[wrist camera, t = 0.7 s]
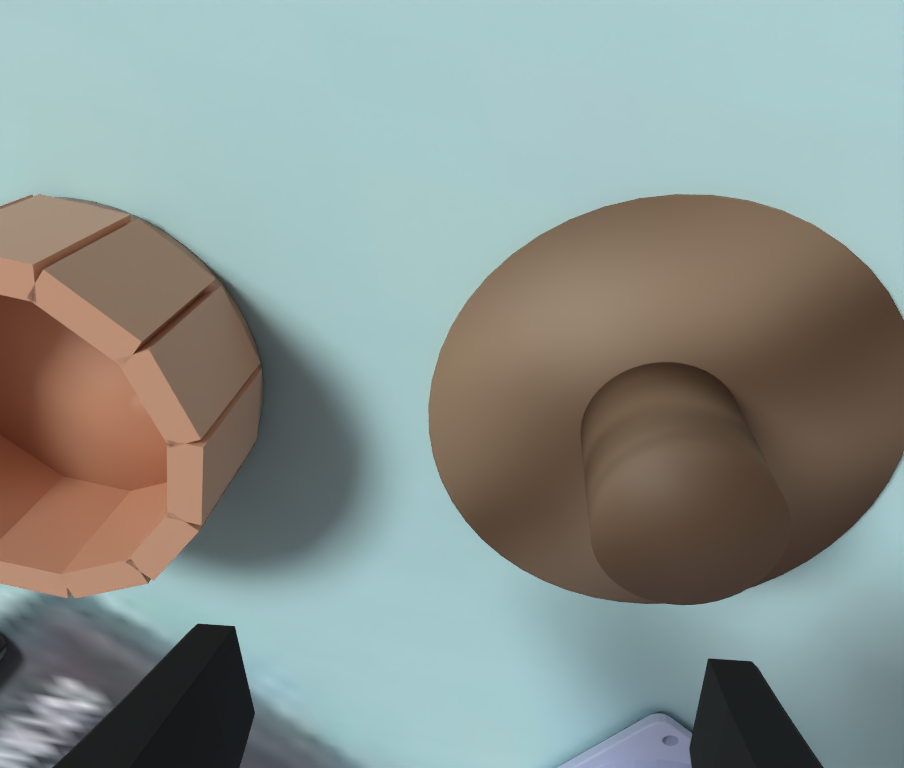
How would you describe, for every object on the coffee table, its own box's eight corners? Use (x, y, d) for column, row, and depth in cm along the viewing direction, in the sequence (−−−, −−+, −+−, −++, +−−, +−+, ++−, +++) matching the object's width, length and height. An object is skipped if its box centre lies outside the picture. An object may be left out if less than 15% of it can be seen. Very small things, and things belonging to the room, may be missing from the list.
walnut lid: (1006, 418, 17) (1146, 541, 13) (638, 646, 23) (660, 786, 18) (682, 69, 15) (737, 94, 11) (344, 421, 20) (294, 527, 16)
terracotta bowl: (328, 359, 18) (280, 443, 15) (162, 545, 22) (92, 646, 19) (18, 115, 16) (-126, 145, 13) (-108, 367, 20) (-245, 444, 16)
